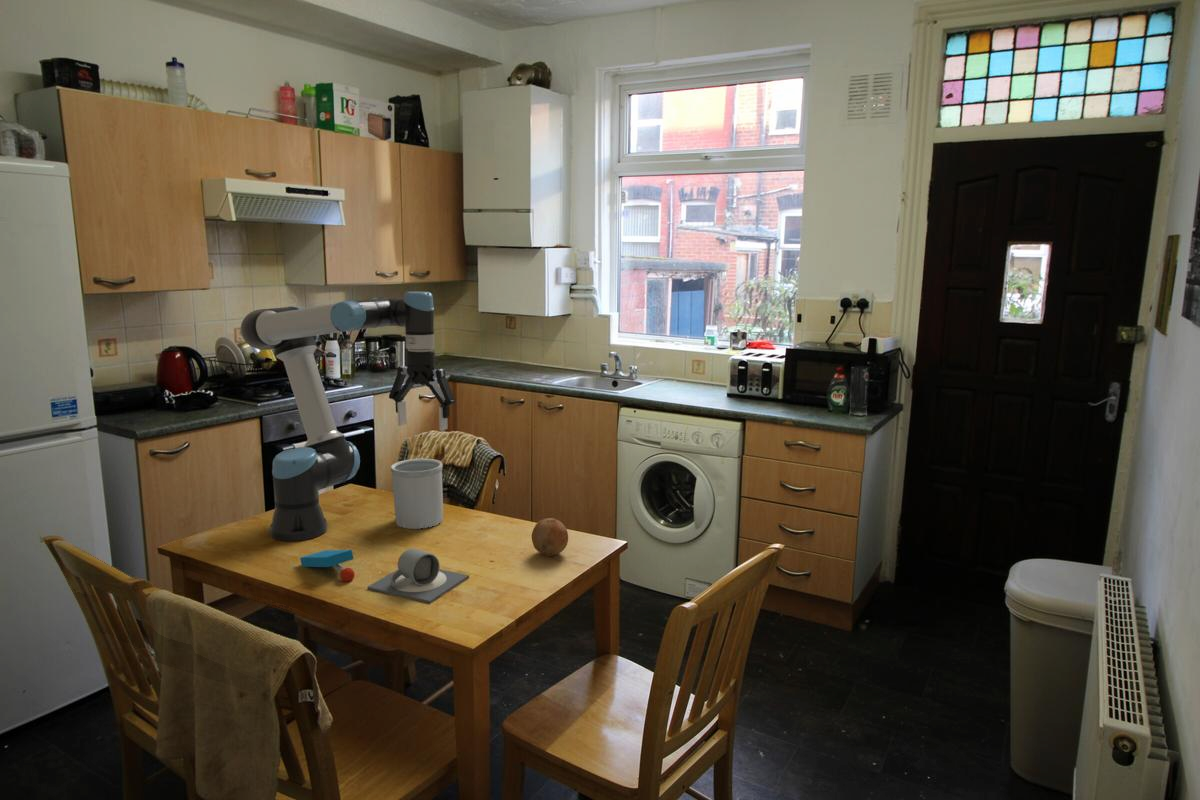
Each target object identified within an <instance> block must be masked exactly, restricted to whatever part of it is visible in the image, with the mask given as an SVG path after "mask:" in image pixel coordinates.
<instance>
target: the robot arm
mask: <svg viewBox="0 0 1200 800" xmlns="http://www.w3.org/2000/svg"><path fill="white" fill-rule="evenodd" d="M434 306H435V305H434V299H433V294H432V293H431V292H429V291H405V293H404V294H403V298H395V297H394V298H393V297H384V296H382V297H373V298H371V299H369V298H368V299H358V300H357V299H356V300H352V299H349V300H342V301H339V302H335V303H330V304H329V303H328V304H323V305H318V306H311V307H301V306H284V307H274V308H262V309H256V310H252V311H251V312H249V313H248V314H246V315H245V317H243V319H242V321H241V323H240V332H241V337H242V339H243V340H244V342H246V344H248V346H250V347H252V348H254V349H257V350H261V351H263V350H265V351H267V350H268V351H269V350H273V351H274V355H275V357H276V359H279V360H280V361H282V362H283V366H284V368H285V371H286V375H287V376H288V381H289V384H290V386H291V390H292V392H293V393H292V394H293V397H294V399H295V403H296V406H297V409H298V412H299V416H300V419H301V421H302V425H303V428H304V430H305V431H304V432H305V435H306V437H307V441H306V442H305V444H304V447H303V446H301V447H296V448H289V449H286V450H283V451H281V452H279V453H278V454H276V455H275V456H274V457H273V460H272V469H271V473H272V474H271V475H272V482H273V495H274V511H273V515H272V520H271V521H272V522H271V524H270V526H269V535H270V538H272V539H274V540H277V541H284V542H297V541H305V540H310V539H314V538H316V537H319V536H322V535H323V534H325V533H326V532H327V530H328V523H327V519H326V518H325V516H324V512H323V510H322V508H321V505H320V500H319V499H320V498H319V497H320V495H319V494H320V493H319V491H321V490H324V489H326V488H330V487H333V486H335V485H339V484H343V483H345V482H346V481H349V480H351V479H352V478H353V477H355V476H356V474H357V473H358V470H359V469H360V466H361V465H360V463H361V459H360V458H361V456H360V453H359V449H357V447H356V445H354V444H353V442H351V441H347V440H346V437H345V434H344V433H342V432H340V431H339V430H338V429H337V428H338V427H337V426H336V421H335V418H334V416H333V413H332V410H331V409H332V408H331V407H330V404H329V403H330V402H329V400H328V397H327V394H326V390H325V388H324V384H323V380H322V378H321V375H320V372H319V368H318V364H317V363H316V362H317V361H316V359H315V355H314V353H315V350H316V349H317V344H316V342H317V341H318V339H319V337H320V336H323V335H328V334H334V333H336V334H337V333H342V332H343V333H344V332H352V331H353V332H354V331H358V330H366V329H367V330H368V329H375V328H376V329H377V328H384V327H401V328H404V329H405V330H404V331H405V332H404V333H405V348H406V352H405V360H406V365H400V366H397V371H396V372H397V373H396V377H395V378H394V382H393V384H392V387H391V389H390V392H389V395H388V398H389V399H390V400H394V402H395V412H396V413H397V425H398V426H400V427H401V426H404V425H407V423H408V422H407V403H406V402H407V401H406V400H405V398H406V396H407V395H408V393H409V392H410V390H411V389H412V388H413V386H414V385H421V386H425V385H426V387H427V388H429V390H430V391H431V393H432V394H433V395H434V397H435V399H436V400H437V401H438V402H439V404H440V406H438V424H439V425H438V427H439V430H438V431H445V430H448V427H449V425H448V418H450V406H451V405H454V404H456V403H457V401H456V398H455V396H454V393H453V391H452V389H451V387H450V385H449V382H448V380H447V377H446V370H445V369H444V368H440V369H435V364H436V356H435V355H436V353H435V351H434V349H435V346H436V344H435V329H434V326H435V325H434V324H435V323H434V321H435V320H434V318H435V316H434V315H435V307H434ZM407 375H408V377H407ZM406 377H407V378H406ZM404 382H405V383H404Z"/></svg>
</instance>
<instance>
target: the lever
mask: <svg viewBox="0 0 1200 800" xmlns="http://www.w3.org/2000/svg"><path fill="white" fill-rule="evenodd" d="M299 559H300V564H301V567H303V566H304V567H303V568H306V567H307V568H329V567H333V568H334V569H336V570H337V571H338V572H339V577H340V580H341V581H342V582H344V581H345V582H344V583H348V582H352V581H353V579H355V571H354V570H353V568H350V567H345V568H343V567H342V566H341V565H339V564H343V563H345V562H350V561H352V560H354V554H353V550H352V549H328V550H321V551H319V552H314V553H311V554H308V555H303V556H301V557H299Z"/></svg>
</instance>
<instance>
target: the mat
mask: <svg viewBox="0 0 1200 800" xmlns="http://www.w3.org/2000/svg"><path fill="white" fill-rule="evenodd" d="M398 570H399V569H398V568H397V569H396V570H395V571H393V572H391V573H389V574H387V575H385V576H384V577H382V578H380V579H378V580H376V581H374V583H371V584H370V585H367V590H369V591H374V590H375V592H378V591H379V592H378V593H384V594H387V595H392V596H396V597H401V598H404V599H410V600H415V601H419V602H423V603H427V604H431V603H433V602H435V601H436V600H438V599H439V598H441V597H442V596H444V595H445V594H446V593H448V592H450V591H451V590H452V589H454V588H455V587H457V586H459V585H460V584H461V583H463V582H465V581H466V580H468V579H469V578H470V575H469V574H465V573H462V572H461V573H460V572H456V571H450V570H445V569H440V568H439V573H438V575H437V577H436V579H435V580H434V581H433V582H432V583H430V584H428V585H425V586H420V585H417V584H415V583H414V582H412V583H410V584H409V585H407V586H405V587H403V588H395V587H393V585H392V583H391V577H392V576H393V575H394V574H395V573H396V572H397V571H398ZM405 579H407V578H406V577H404V576H403V575H401V576H400V577H398V578H397V579H396V581H395V583H399V582H402V581H404V580H405Z"/></svg>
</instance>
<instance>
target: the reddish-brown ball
mask: <svg viewBox="0 0 1200 800" xmlns="http://www.w3.org/2000/svg"><path fill="white" fill-rule="evenodd" d="M531 542H532V545H533V548H534V549H535V551H537V552H538V553H539V554H541V555H543V556H548V557H552V556H556V555H558V554H559V555H560V553H563V551H564V550H565V549H566V547H567V545H568V543H569V533H568V529H567V527H566V526H565V524H564V523H562V522H561V521H560V520H558V519H556V518H553V517H551V518H550V517H548V518H543V519H540V520H539V521H538V522H537V523H536V524H535V525H534V527H533V529H532V532H531Z"/></svg>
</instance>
